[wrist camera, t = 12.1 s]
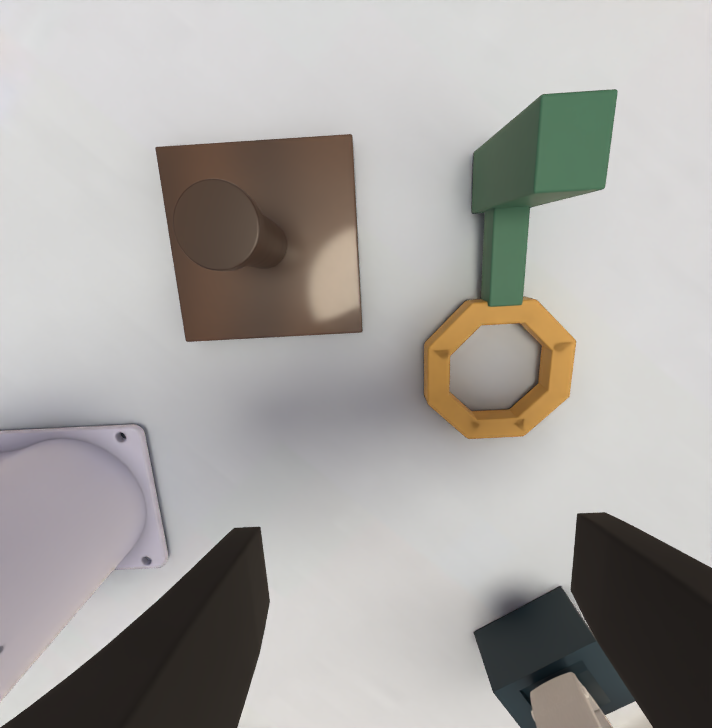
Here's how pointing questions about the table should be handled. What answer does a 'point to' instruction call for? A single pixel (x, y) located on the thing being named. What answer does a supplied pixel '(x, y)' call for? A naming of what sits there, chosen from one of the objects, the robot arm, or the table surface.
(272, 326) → the peg stand
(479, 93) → the table surface
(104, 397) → the table surface
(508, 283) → the octagonal ring with handle
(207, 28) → the table surface
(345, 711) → the table surface
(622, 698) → the bust statue
